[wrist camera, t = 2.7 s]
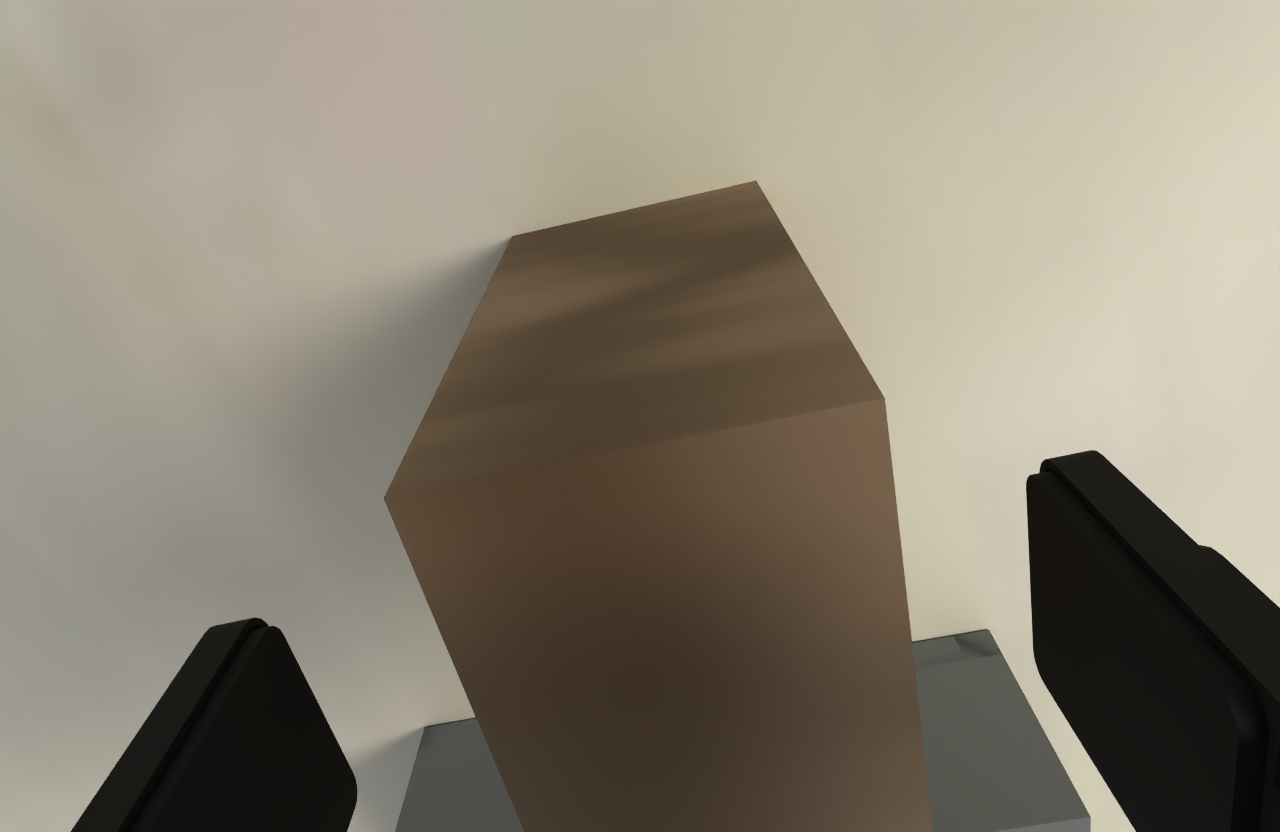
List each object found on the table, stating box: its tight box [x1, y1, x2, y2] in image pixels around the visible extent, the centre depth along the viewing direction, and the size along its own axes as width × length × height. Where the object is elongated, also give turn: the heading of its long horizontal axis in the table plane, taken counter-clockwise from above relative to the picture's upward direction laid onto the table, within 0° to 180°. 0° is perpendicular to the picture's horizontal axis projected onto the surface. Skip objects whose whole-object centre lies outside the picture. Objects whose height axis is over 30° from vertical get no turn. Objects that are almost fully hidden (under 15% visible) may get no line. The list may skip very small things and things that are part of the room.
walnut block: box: [384, 181, 933, 832], centre depth 13 cm, size 4×6×9 cm
